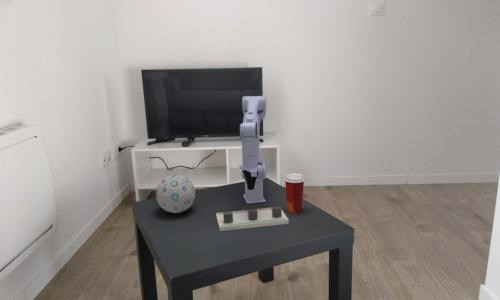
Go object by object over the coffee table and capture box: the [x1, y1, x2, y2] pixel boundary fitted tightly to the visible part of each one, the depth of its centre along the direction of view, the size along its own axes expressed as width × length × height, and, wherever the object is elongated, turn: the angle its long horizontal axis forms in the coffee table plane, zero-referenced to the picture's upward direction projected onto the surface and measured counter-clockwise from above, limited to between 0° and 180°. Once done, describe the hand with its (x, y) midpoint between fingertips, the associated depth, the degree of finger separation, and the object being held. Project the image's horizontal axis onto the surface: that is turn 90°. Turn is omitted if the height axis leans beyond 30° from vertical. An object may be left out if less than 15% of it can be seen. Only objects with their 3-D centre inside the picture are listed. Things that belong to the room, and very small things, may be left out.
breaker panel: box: [215, 207, 290, 232], centre depth 139 cm, size 12×25×2 cm, turn 101°
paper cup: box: [283, 172, 306, 214], centre depth 146 cm, size 8×8×14 cm
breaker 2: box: [247, 208, 258, 220], centre depth 136 cm, size 2×3×3 cm, turn 101°
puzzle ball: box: [155, 173, 196, 214], centre depth 147 cm, size 15×15×15 cm
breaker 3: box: [271, 206, 283, 217], centre depth 138 cm, size 2×3×3 cm, turn 101°
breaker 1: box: [222, 211, 233, 223], centre depth 135 cm, size 2×3×3 cm, turn 101°
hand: (250, 189), depth 141 cm, fingers closed
